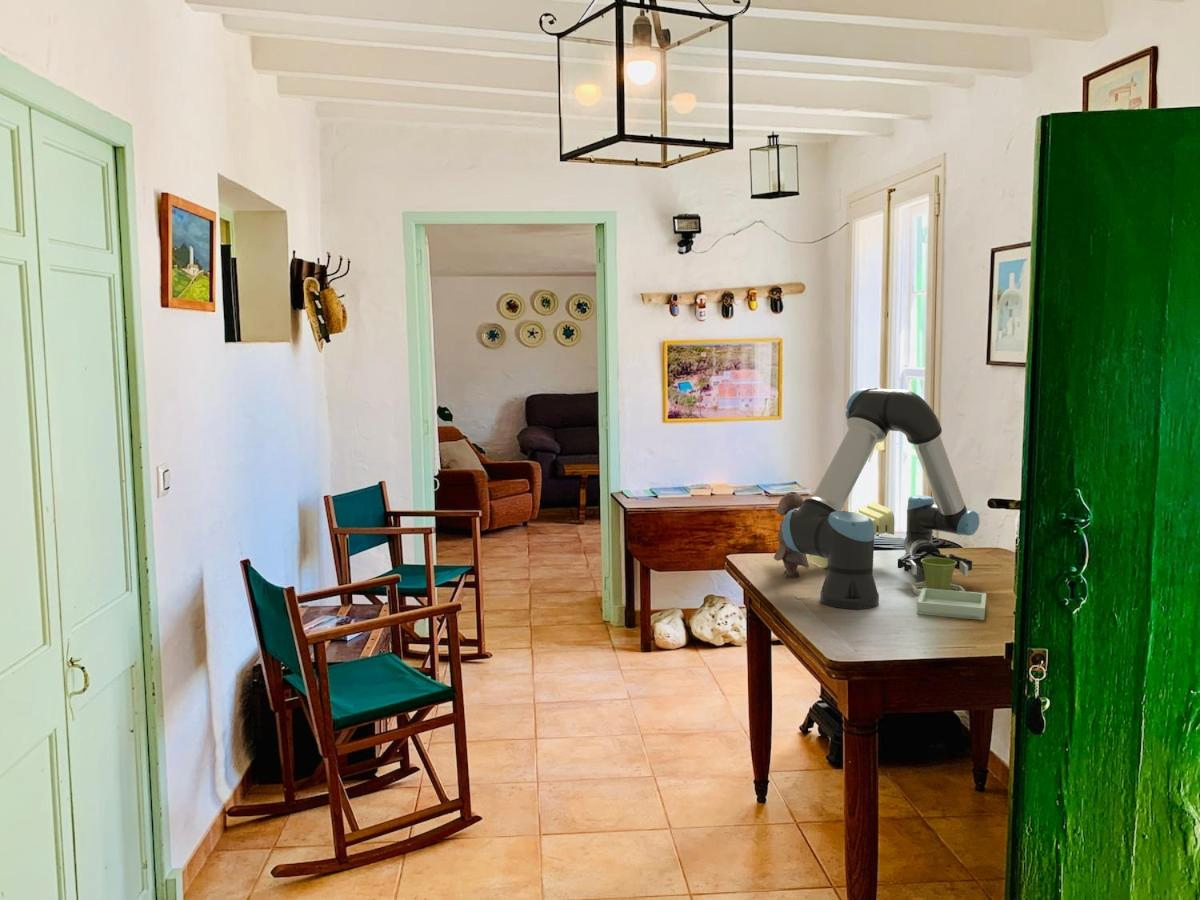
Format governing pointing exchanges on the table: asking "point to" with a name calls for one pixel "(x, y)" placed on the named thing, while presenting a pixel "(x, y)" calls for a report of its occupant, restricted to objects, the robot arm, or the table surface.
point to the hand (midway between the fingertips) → (940, 570)
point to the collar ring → (921, 584)
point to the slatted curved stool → (881, 521)
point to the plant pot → (938, 572)
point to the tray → (952, 603)
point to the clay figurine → (783, 552)
